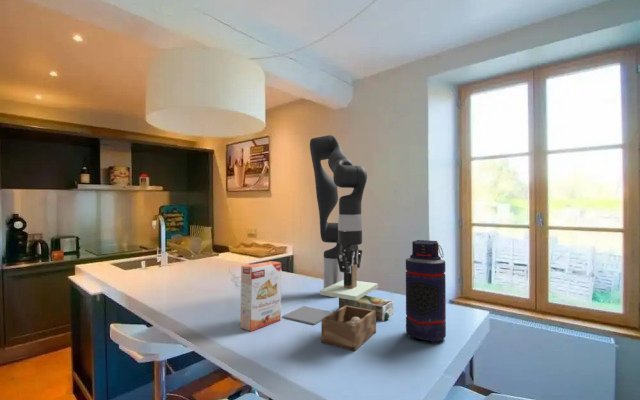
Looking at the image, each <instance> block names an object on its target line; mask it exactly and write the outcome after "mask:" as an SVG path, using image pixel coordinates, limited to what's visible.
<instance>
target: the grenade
mask: <svg viewBox="0 0 640 400" xmlns="http://www.w3.org/2000/svg"><path fill="white" fill-rule="evenodd" d="M411 243H412V244H411V245H412V246H411V247H412V249H411V250H412V254H410V256H409V257H408V258H406V259H405V331H406V333H407V335H408V338H409V339H410V340H414V338H415V339H419V340H424V341H431V344H434V345H436V344H440V341H441V340H443V339H445V338H446V336H447V328H446V327H447V324H446V322H447V321H446V317H447V315H446V314H447V313H446V312H447V309H446V300H447V299H446V298H447V297H446V295H447V294H446V261H445V260H444V259H442V258H444V255H445V254H444V251H443V249H442V248H443V247H442V246H441V245H440V244H439V242H438V240H427V239H426V240H423V239H422V240H421V239H416V240H413V241H412V242H411ZM439 255H440V256H439Z"/></svg>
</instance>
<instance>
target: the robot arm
mask: <svg viewBox="0 0 640 400" xmlns="http://www.w3.org/2000/svg"><path fill="white" fill-rule="evenodd" d="M309 151H310V152H309V153H310V156H311V161H312V167H313V173H314V174H313V175H314V182H315V183H314V185H315V192H316V194H315V195H316V201H317V206H318V216H319V230H320V238H321V241H322V242H323V243H329V244H330V243H333V244H336V245H335V246H334V247H331V248H330V249H329V248H328V249H327V250H325V251H323V289H324V288H327V287H329V286H331V285H333V284H336V283H338V282H340V281H342V280H344V285H347V286H350V285H351V270H352V266H353V264H357V269H359V268H360V267H361V261H362V255H363V250H362V249H359V245H362V244H363V219H362V217H363V216H362V201H363V197H364V195H363V194H364V191H365V188H366V185H367V180H368V173H367V170H366V169H365V166H362V165H354V164H353V163H352V161H351V160H350V158H348V157H347V156H346V155H345V153H344V151H343V149H342V147H341V145H340V142H339V141H338V139H337V138H336V137H335V136H334V135H331V134H328V135H324V136H322V135H321V136H318V137H313V138H311V139H310V141H309ZM325 160H327V165H328V168H329V169H330V171H331V172H332V174H333V177H331V176H330V175H329V174H328V173H327V172H326V170H325V169H324V167H323V166H322V162H321V161H325ZM338 188H340V189H341V188H342V189H346V188H347V189H348V188H349V189H350V188H351V189H353V190H352V192H351V193H349V194H346V195H342V196H340V197H339V194H338V193H339V191H338ZM337 204H338V221H337V222H328V219H329V217H330V215H331V214H332V211H333V210H334V209H335V207H336V205H337ZM348 266H349V268H348ZM324 297H329V298H332V297H331V296H326V295H324Z"/></svg>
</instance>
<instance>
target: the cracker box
mask: <svg viewBox="0 0 640 400" xmlns="http://www.w3.org/2000/svg"><path fill="white" fill-rule="evenodd" d="M240 271H241V273H240V275H241V276H240V278H241V280H240V316H239V317H240V324H239V327H240V328H241V329H243V330H246V331H249V332H252V331H255V330H259V329H260V328H264V327H266V326H269V325H271V324H274V323H277V322H279V321H281V318H282V316H281V314H282V313H281V311H282V310H281V309H282V308H281V306H282V305H281V304H282V262H280V261H274V260H273V261H270V260H269V261H263V262H259V263H253V264H252V263H251V264H246V265H241V270H240Z"/></svg>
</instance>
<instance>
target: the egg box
mask: <svg viewBox="0 0 640 400" xmlns="http://www.w3.org/2000/svg"><path fill="white" fill-rule="evenodd" d="M332 312H333V313H331V314H330V315H328V316H326V317H324V318H323V319H322V321H321V337H320V338H321V339H320V340H321V341H320V342H321V343H322V344H325V345H329V346H333V347H337V348H341V349H345V350H349V351H352V352H356V351H357V350H358V349H359V348H361V347H362V345H364V344H365V343H366V342H367V341H368V340H370V339H371V338H372V337H373V336H374V335H375V334H376V333H377V320H376V311H375V310H369V309H364V308H358V307H352V306H347V305H345V306H344V307H342V308H340V309H339V308H338V309H337V310H335V311H332Z"/></svg>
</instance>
